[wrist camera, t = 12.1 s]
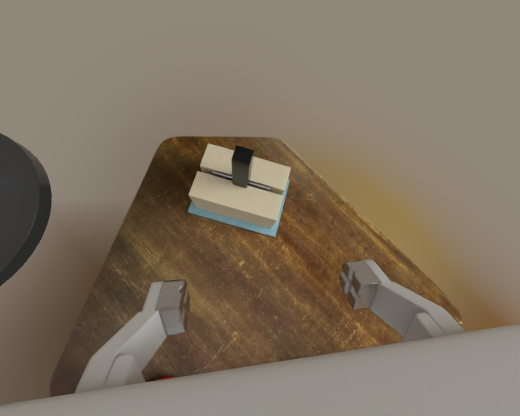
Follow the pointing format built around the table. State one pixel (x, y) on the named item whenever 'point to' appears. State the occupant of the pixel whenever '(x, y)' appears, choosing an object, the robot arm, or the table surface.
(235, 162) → the slider knob post
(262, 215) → the slide lever switch
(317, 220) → the table surface
